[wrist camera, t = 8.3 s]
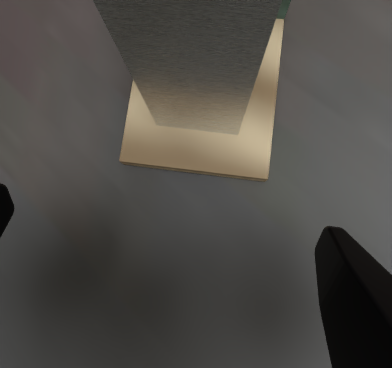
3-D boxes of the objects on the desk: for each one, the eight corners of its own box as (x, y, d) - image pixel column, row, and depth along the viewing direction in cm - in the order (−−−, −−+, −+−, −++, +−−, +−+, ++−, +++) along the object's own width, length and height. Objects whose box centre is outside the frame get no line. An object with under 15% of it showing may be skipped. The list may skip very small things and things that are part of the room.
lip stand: (264, 181, 19) (275, 173, 16) (123, 164, 19) (108, 153, 16) (282, 7, 20) (295, -30, 17) (151, -4, 21) (142, -43, 18)
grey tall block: (237, 135, 18) (323, -126, 5) (156, 125, 18) (17, -148, 5) (247, 58, 19) (346, -364, 5) (168, 50, 19) (74, -370, 6)
